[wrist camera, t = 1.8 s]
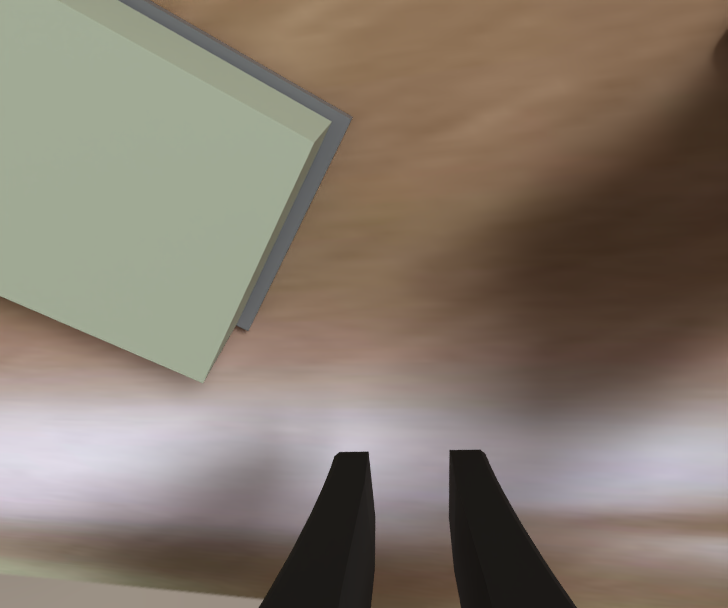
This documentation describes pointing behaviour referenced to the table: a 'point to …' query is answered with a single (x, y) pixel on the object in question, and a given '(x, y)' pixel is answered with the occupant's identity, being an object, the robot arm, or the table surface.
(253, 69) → the base
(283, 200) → the pale green rectangular block
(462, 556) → the robot arm
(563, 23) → the table surface
